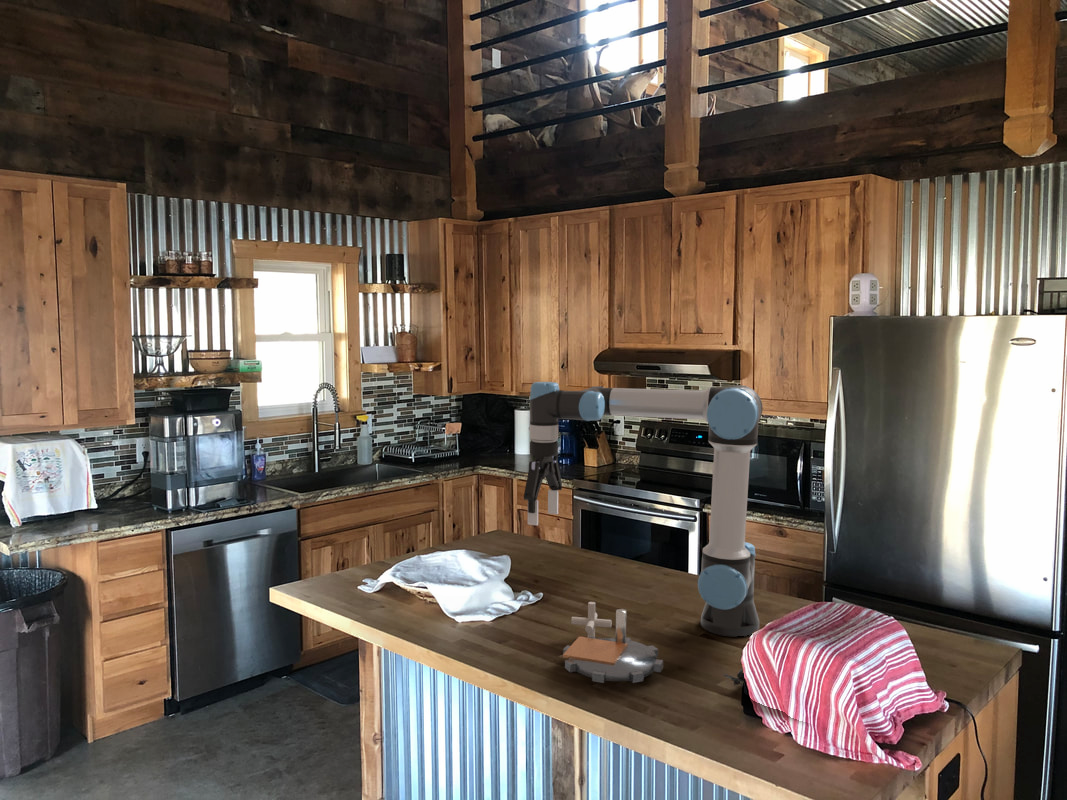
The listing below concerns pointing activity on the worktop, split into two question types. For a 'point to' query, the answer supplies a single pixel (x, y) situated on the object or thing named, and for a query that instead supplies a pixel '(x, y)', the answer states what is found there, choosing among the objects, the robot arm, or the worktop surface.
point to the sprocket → (612, 656)
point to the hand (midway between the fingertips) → (543, 519)
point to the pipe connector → (591, 620)
